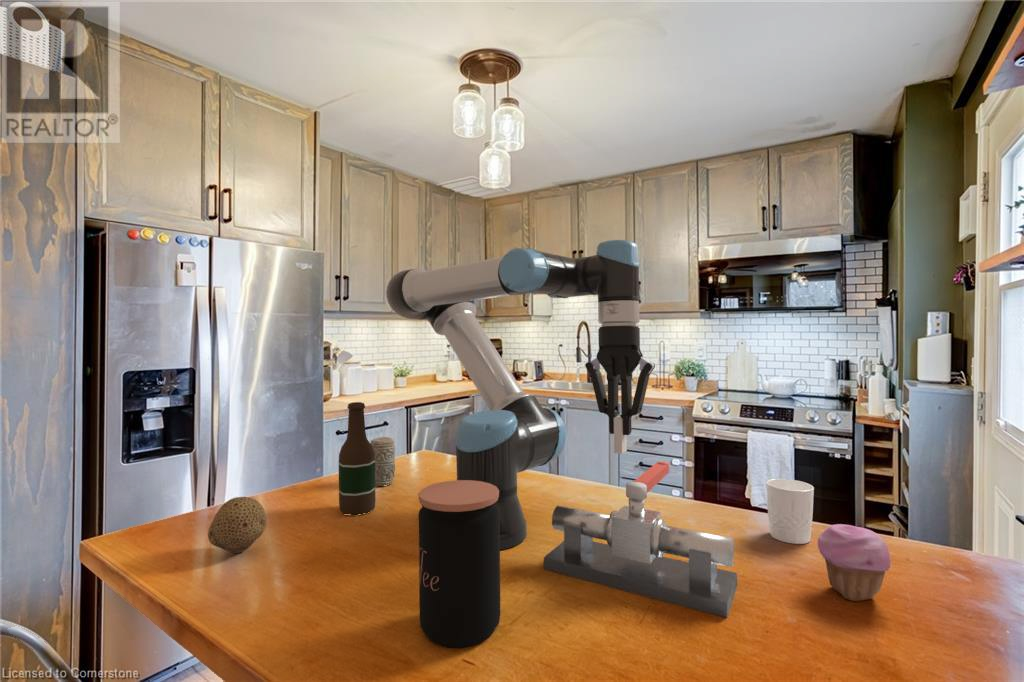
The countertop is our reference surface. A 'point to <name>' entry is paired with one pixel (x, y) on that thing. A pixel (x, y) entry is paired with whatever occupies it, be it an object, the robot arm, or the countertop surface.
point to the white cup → (790, 510)
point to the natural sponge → (237, 524)
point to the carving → (384, 460)
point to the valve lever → (647, 481)
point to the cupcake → (854, 560)
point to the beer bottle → (356, 466)
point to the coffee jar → (459, 562)
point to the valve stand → (645, 556)
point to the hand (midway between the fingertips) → (620, 451)
